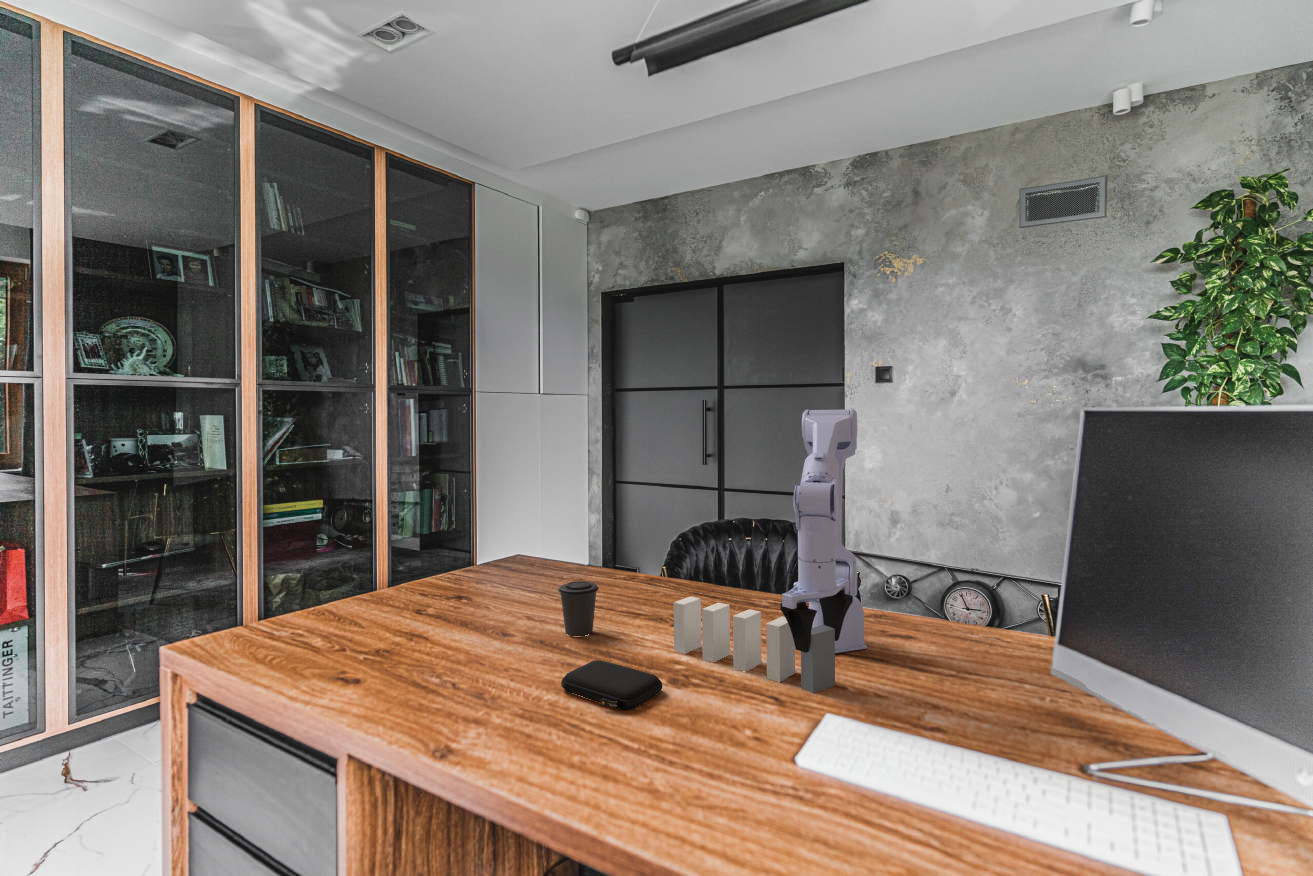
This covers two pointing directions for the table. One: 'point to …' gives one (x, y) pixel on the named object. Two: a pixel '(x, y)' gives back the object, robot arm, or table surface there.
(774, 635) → the domino
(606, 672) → the carrying case or bag
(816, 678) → the domino
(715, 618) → the domino
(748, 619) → the domino
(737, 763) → the table surface
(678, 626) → the domino
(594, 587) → the coffee cup
